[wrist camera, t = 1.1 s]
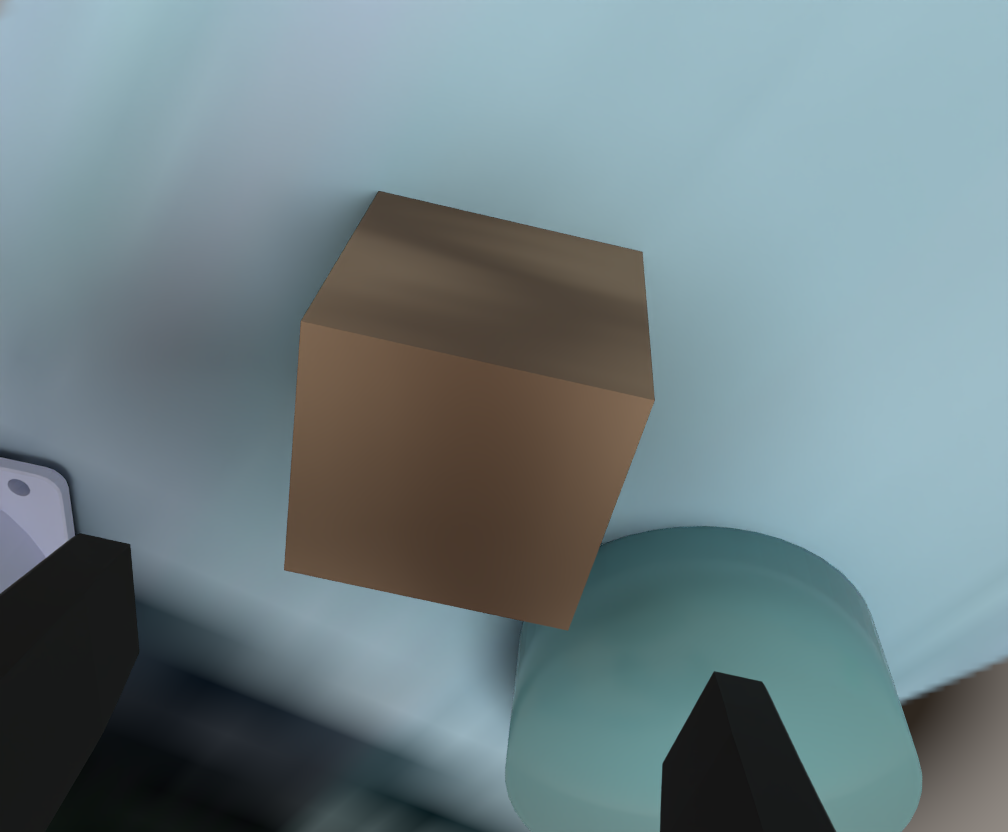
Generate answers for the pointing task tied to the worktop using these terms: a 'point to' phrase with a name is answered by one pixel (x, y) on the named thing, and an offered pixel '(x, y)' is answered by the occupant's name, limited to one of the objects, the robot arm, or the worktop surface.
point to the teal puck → (704, 681)
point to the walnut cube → (467, 410)
